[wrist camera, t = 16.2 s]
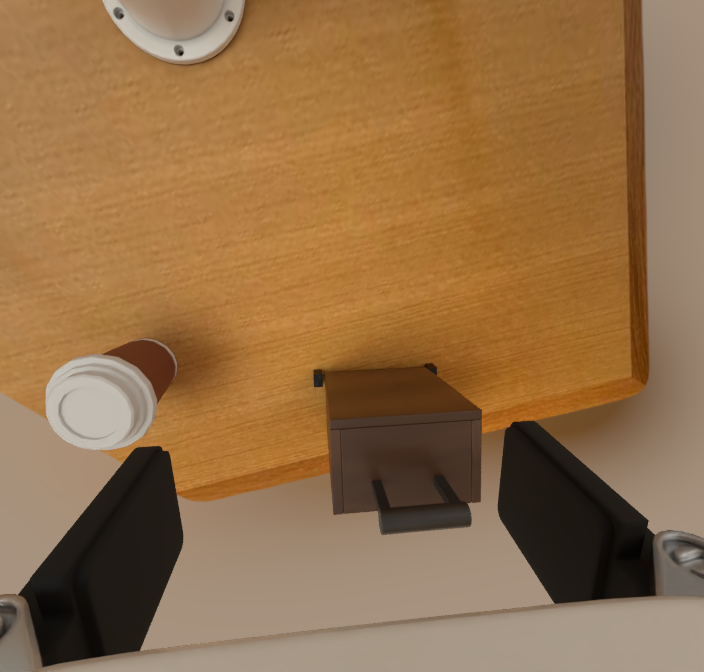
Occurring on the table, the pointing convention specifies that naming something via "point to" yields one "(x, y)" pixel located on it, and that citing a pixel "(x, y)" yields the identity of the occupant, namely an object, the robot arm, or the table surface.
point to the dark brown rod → (319, 382)
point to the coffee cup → (110, 394)
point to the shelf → (403, 448)
